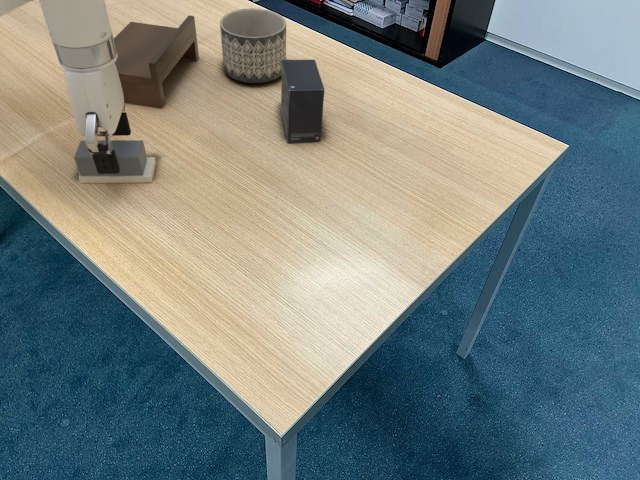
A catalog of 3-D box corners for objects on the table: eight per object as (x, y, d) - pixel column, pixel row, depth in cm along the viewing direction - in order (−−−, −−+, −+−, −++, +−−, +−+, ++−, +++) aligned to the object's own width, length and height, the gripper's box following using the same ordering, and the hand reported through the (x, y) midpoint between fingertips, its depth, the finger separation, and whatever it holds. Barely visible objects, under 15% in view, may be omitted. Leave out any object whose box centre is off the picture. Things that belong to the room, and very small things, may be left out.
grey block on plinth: (80, 183, 86) (71, 158, 82) (87, 163, 89) (79, 139, 86) (151, 182, 86) (146, 158, 83) (156, 162, 90) (151, 138, 86)
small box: (323, 142, 96) (326, 89, 89) (286, 144, 95) (287, 90, 88) (313, 109, 104) (316, 57, 96) (279, 110, 103) (279, 58, 95)
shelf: (91, 97, 102) (79, 52, 96) (136, 49, 116) (127, 6, 110) (162, 108, 101) (154, 63, 95) (199, 58, 115) (194, 15, 108)
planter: (211, 74, 110) (206, 24, 103) (250, 51, 118) (248, 2, 111) (260, 95, 106) (258, 44, 99) (297, 69, 114) (299, 20, 106)
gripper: (72, 20, 78) (102, 121, 90) (38, 82, 66) (77, 189, 78) (126, 20, 79) (148, 121, 91) (101, 81, 67) (130, 188, 79)
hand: (115, 152), depth 85 cm, fingers open, 9 cm apart
